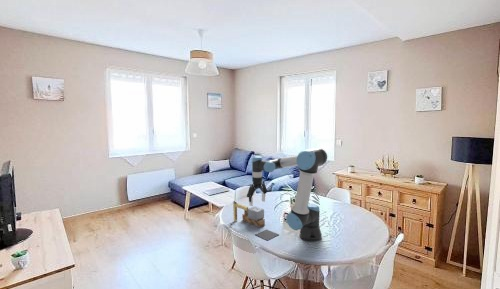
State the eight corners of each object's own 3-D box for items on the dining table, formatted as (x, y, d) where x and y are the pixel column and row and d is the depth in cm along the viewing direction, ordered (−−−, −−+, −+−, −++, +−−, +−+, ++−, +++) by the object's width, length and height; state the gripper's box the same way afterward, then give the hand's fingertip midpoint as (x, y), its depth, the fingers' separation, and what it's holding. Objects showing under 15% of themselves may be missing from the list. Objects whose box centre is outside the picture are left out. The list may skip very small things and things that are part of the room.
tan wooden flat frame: (249, 225, 205) (248, 205, 203) (246, 226, 203) (246, 206, 201) (235, 220, 216) (235, 200, 214) (233, 220, 214) (232, 201, 212)
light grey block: (264, 218, 207) (264, 209, 206) (256, 221, 202) (256, 212, 201) (255, 214, 214) (254, 206, 213) (247, 217, 209) (247, 208, 208)
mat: (278, 234, 189) (278, 234, 189) (267, 240, 181) (267, 240, 181) (266, 229, 198) (266, 229, 198) (255, 235, 190) (255, 234, 190)
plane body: (264, 225, 205) (264, 214, 204) (260, 227, 202) (260, 216, 201) (247, 218, 220) (246, 207, 219) (242, 220, 216) (242, 209, 215)
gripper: (264, 173, 214) (264, 198, 217) (241, 178, 197) (242, 206, 199) (271, 174, 208) (271, 200, 211) (248, 180, 191) (249, 208, 194)
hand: (257, 203), depth 205 cm, fingers open, 13 cm apart
